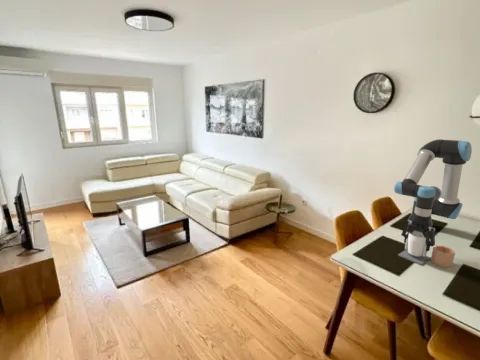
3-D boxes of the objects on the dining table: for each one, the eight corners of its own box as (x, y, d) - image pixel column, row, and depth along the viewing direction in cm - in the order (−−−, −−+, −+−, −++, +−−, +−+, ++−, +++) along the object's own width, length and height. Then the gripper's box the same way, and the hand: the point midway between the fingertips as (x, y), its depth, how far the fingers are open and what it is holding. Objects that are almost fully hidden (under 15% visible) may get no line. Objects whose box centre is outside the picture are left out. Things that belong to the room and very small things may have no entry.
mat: (407, 249, 156) (407, 248, 156) (430, 258, 147) (430, 257, 146) (397, 255, 150) (398, 254, 149) (421, 265, 140) (421, 264, 140)
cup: (427, 258, 142) (431, 238, 139) (409, 256, 144) (413, 236, 141) (420, 250, 151) (423, 231, 148) (402, 248, 153) (406, 229, 150)
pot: (435, 256, 149) (437, 244, 147) (453, 263, 142) (457, 250, 140) (428, 261, 144) (431, 248, 142) (447, 269, 137) (450, 255, 135)
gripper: (398, 210, 148) (392, 246, 154) (442, 222, 131) (434, 262, 137) (404, 207, 152) (398, 242, 158) (448, 219, 135) (440, 258, 141)
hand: (415, 251), depth 147 cm, fingers closed on cup, 9 cm apart
